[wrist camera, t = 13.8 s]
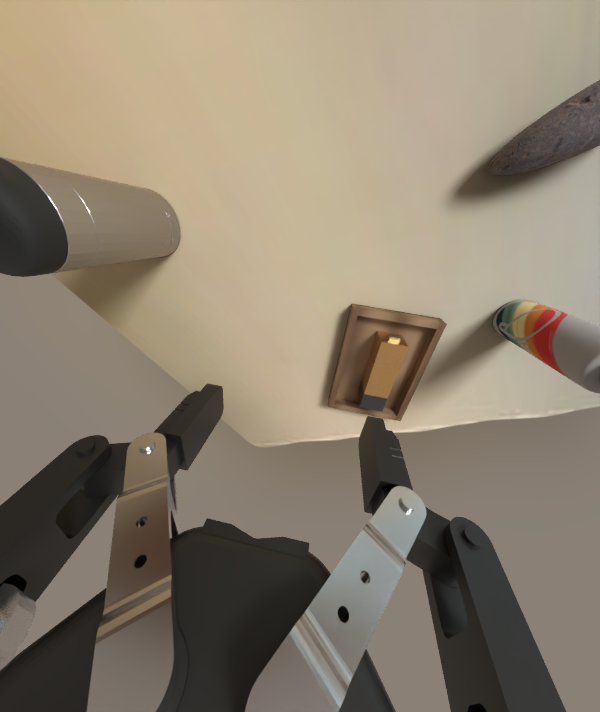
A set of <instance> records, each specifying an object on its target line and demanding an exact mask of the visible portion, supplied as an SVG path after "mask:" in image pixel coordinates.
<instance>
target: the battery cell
mask: <svg viewBox="0 0 600 712" xmlns="http://www.w3.org/2000/svg"><path fill="white" fill-rule="evenodd" d="M408 347H409V346H408V344H407V343H406V341H405V339H404V338H403V336H402V335H401V334H395V333H389V332H384V331H378V330H377V333H376V336H375V339H374V342H373V345H372V348H371V352H370V355H369V358H368V361H367V364H366V367H365V370H364V373H363V377H362V380H361V383H360V386H359V389H358V399H359V407H361V408H366V409H371V410H376V411H381V412H382V411H383V409H384V406H385V404H386V401H387V399H388V396H389V394H390V391H391V389H392V387H393V384H394V382H395V379H396V377H397V374H398V372H399V369H400V367H401V365H402V362H403V360H404V357H405V355H406V352H407V350H408Z"/></svg>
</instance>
